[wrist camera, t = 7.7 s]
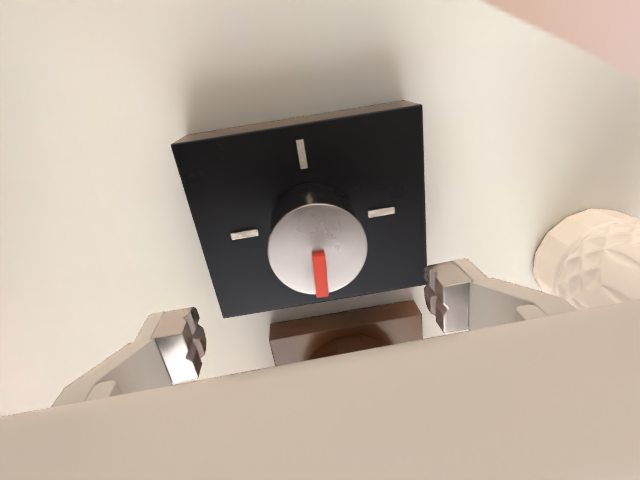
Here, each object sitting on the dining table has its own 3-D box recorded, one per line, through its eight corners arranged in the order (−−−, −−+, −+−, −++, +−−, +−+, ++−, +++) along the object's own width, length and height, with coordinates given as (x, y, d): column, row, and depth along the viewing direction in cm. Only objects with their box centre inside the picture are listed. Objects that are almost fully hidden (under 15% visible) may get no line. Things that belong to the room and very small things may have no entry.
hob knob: (264, 186, 19) (259, 212, 15) (352, 177, 19) (367, 200, 15) (276, 264, 20) (274, 303, 17) (356, 255, 20) (370, 292, 17)
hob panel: (230, 291, 24) (222, 320, 21) (185, 134, 20) (168, 144, 17) (412, 261, 24) (428, 286, 22) (404, 100, 20) (424, 104, 17)
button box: (290, 407, 29) (290, 449, 26) (269, 323, 26) (267, 359, 22) (417, 385, 29) (434, 424, 26) (413, 299, 26) (431, 331, 22)
